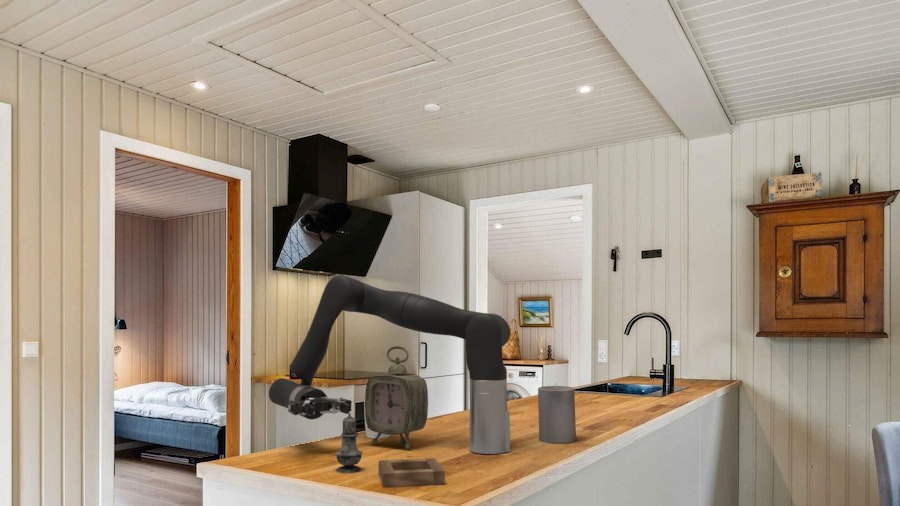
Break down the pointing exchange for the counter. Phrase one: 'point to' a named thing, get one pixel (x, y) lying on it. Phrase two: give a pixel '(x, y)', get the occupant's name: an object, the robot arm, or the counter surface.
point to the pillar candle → (556, 414)
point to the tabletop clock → (396, 402)
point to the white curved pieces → (371, 433)
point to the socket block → (411, 472)
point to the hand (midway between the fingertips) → (330, 410)
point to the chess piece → (349, 447)
